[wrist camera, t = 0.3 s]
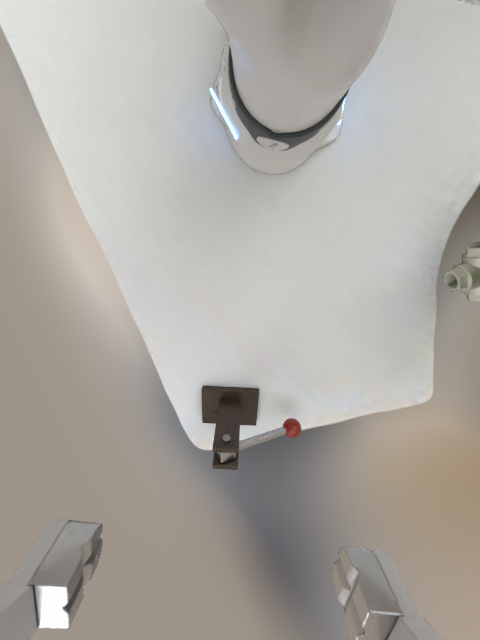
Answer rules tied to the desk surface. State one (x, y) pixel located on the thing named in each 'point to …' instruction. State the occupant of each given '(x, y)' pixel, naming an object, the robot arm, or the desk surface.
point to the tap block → (228, 418)
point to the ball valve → (466, 274)
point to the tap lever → (266, 437)
